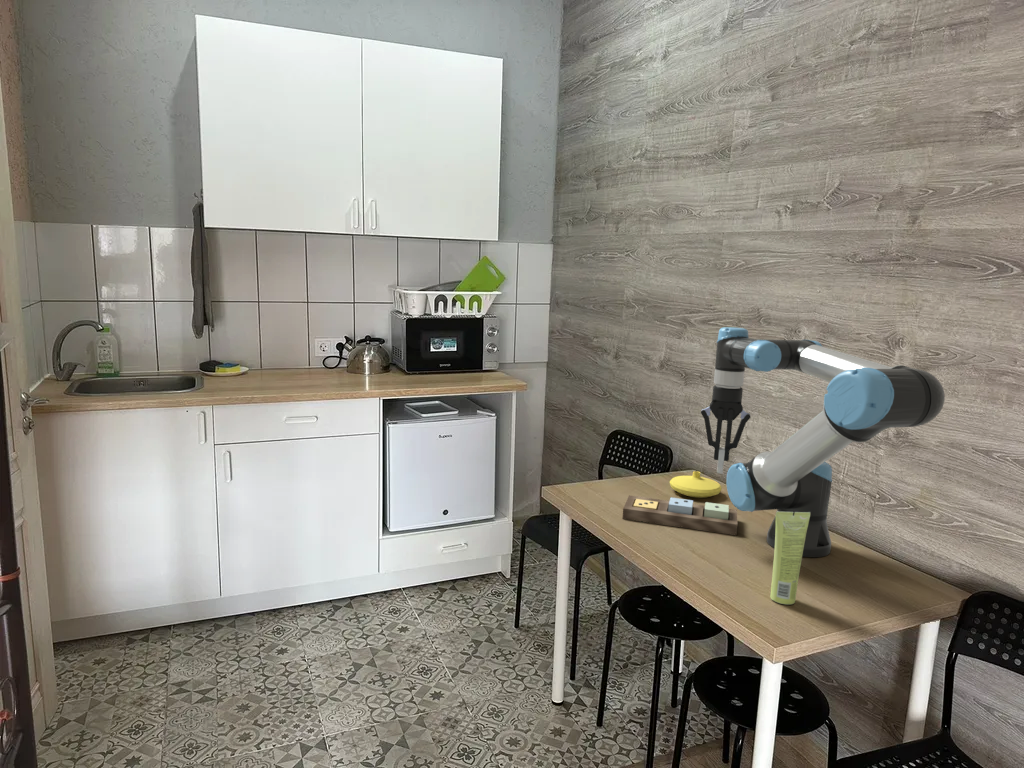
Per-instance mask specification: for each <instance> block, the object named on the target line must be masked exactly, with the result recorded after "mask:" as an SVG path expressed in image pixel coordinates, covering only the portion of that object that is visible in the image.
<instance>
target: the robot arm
mask: <svg viewBox="0 0 1024 768" xmlns="http://www.w3.org/2000/svg"><path fill="white" fill-rule="evenodd" d="M714 363H715V364H714V365H715V367H714V374H713V384H714V386H713V387H712V395H711V396H712V398H711V402H710V403H709V405H708V407H706V408H702V409H701V410H700V414H701V415H702V417H703V419H704V424H705V425H704V426H705V431H706V432H705V433H706V438H707V444H708V446H711V447H713V448H714V452H713V453H714V454H713V460H714V461H717V465H716V466H717V467H716V473H717V474H721V475H723V474H724V465H725V462H728V461H729V457H730V451H731V450H732V449H736V448H737V447H738V445H739V442H740V440H741V437H742V434H743V432H744V429H745V426H746V424H747V422H748V421H750V419H751V418H752V417H751V414H750V413H749V412H747V411H745V410H744V407H743V404H742V403H743V402H742V400H743V390H744V389H743V386H744V382H745V370H746V369H751V370H752V371H753V370H754V371H755V372H765V373H767V372H771V371H773V370H775V371H776V370H778V371H779V370H781V371H782V370H783V371H784V370H791V371H798V372H801V373H803V374H805V375H809V376H813V377H815V378H817V379H820V380H822V381H825V382H828V385H827V387H826V391H827V393H825V394H824V395H823V398H824V399H823V407H822V408H823V409H822V410H821V412H819V413H818V414H817V415H815V416H814V417H812V418H811V419H810V420H809V421H807V422H806V423H805V424H804V425H803V426H802V427H801V428H799V429H798V430H797V431H795V432H794V433H793V434H792V435H791V436H790V437H788V438H787V439H785V440H784V442H782V443H781V444H780V445H778V446H777V447H776V448H775V449H774V450H772V451H770V450H768V451H762V452H759V453H758V454H757V455H755V457H753V458H752V459H751V460H750V461H748V462H746V463H745V462H744V463H742V462H737V463H733V464H732V465H731V466H730V467H729V468H728V470H727V472H726V482H725V483H726V490H727V491H726V492H727V494H728V497H729V500H730V502H731V504H732V505H733V506H734V507H735V508H736V510H739V511H741V512H751V513H752V512H758V511H759V512H760V511H771V510H772V511H773V510H776V511H779V512H810V519H809V523H808V528H807V532H806V537H805V543H804V548H803V554H802V558H803V557H804V558H821V557H826V556H828V555H830V554H831V548H832V540H831V536H830V531H829V526H828V523H827V519H828V512H829V511H828V510H829V503H830V495H831V488H832V483H833V478H832V476H833V475H832V474H833V468H832V466H831V465H830V464H829V463H828V462H827V461H828V460H829V459H831V458H832V457H833V456H835V455H836V454H838V453H839V452H841V451H842V450H843V449H845V448H846V447H848V446H849V445H851V444H852V443H858V444H859V443H866V442H868V441H870V440H871V439H872V438H874V437H876V436H877V435H879V434H880V433H882V432H883V431H885V430H887V429H891V428H912V427H914V428H915V427H920V426H923V425H926V424H928V423H930V422H931V421H932V420H934V419H935V418H936V417H938V415H939V414H940V413H941V411H942V409H943V408H944V404H945V399H946V398H945V394H946V393H945V390H944V387H943V385H942V383H941V382H940V381H939V379H938V378H937V377H936V376H935V375H933V374H932V373H930V372H928V371H927V370H923V369H919V368H918V369H917V368H914V367H911V366H907V365H904V364H903V365H900V364H898V365H894V366H889V365H885V364H882V363H879V362H876V361H872V360H869V359H866V358H861V357H859V356H856V355H852V354H848V353H845V352H842V351H838V350H835V349H831V348H829V347H826V346H823V345H822V344H821V342H819V341H818V340H811V339H766V338H765V339H763V338H761V339H759V338H750V337H749V330H748V329H747V328H743V327H730V326H729V327H727V326H724V327H720V328H719V330H718V335H717V340H716V353H715V362H714ZM711 413H712V414H713V416H714V417H715V419H716V420H717V421H716V433H715V440H714V439H713V433H712V427H711V421H710V415H711ZM739 415H740V421H739V424H738V427H737V430H736V432H735V435H734V438H733V440H732V442H731V438H732V429H733V421H735V419H737V418H738V416H739ZM723 421H726V433H725V440H724V441H725V442H724V447H721V438H722V437H721V436H722V428H723ZM775 531H776V515H775V516H774V518H773V520H772V522H771V524H770V526H769V528H768V530H767V536H766V542H767V543H768V545H770V546H771V547H772V548H773V549H775Z"/></svg>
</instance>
